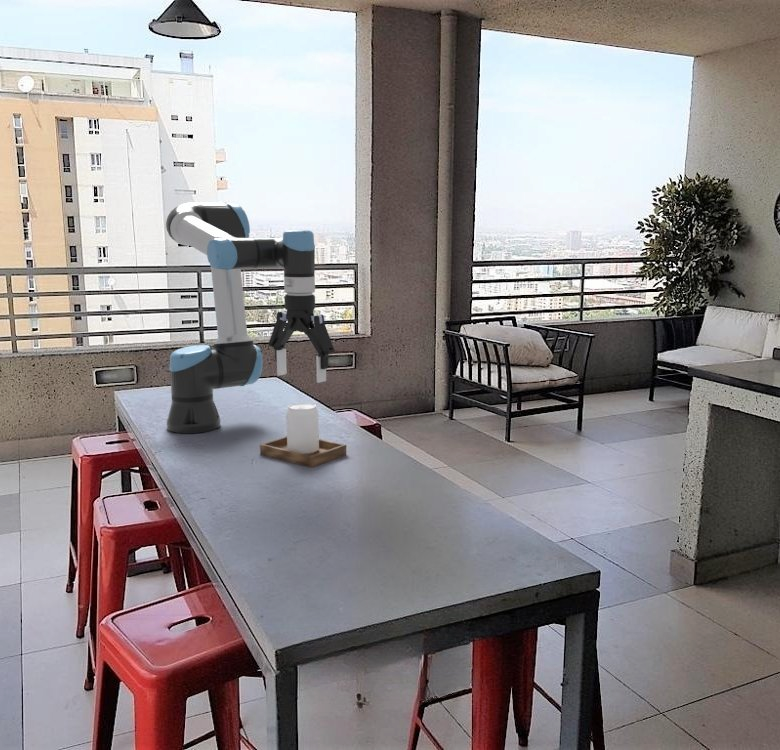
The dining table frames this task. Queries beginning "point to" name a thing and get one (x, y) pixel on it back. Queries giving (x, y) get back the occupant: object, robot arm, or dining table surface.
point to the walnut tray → (321, 456)
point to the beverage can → (302, 428)
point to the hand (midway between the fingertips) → (301, 378)
